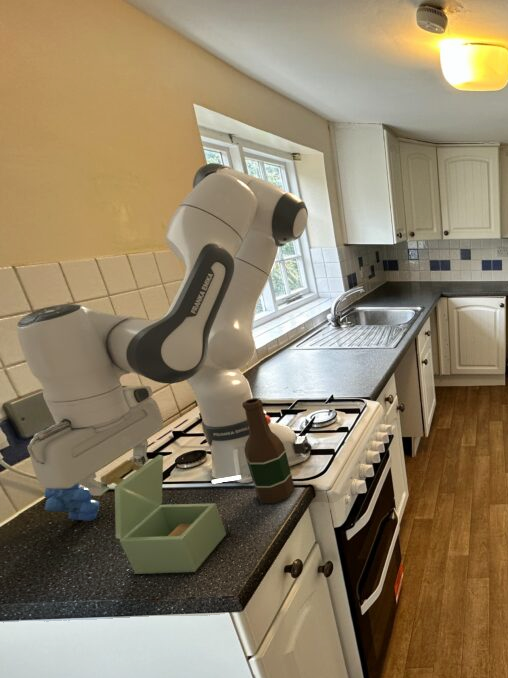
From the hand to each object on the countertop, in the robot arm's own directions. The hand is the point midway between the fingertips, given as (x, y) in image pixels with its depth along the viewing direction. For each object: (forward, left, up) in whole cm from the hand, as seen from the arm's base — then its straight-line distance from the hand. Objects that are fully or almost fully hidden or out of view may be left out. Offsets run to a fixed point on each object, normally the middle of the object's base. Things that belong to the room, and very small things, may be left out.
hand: (122, 478), depth 72 cm
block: (-6, +4, -17) cm, 18 cm away
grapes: (+14, -21, -18) cm, 31 cm away
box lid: (-2, +1, -4) cm, 5 cm away
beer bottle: (-22, -7, -18) cm, 29 cm away
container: (-4, +3, -18) cm, 18 cm away
